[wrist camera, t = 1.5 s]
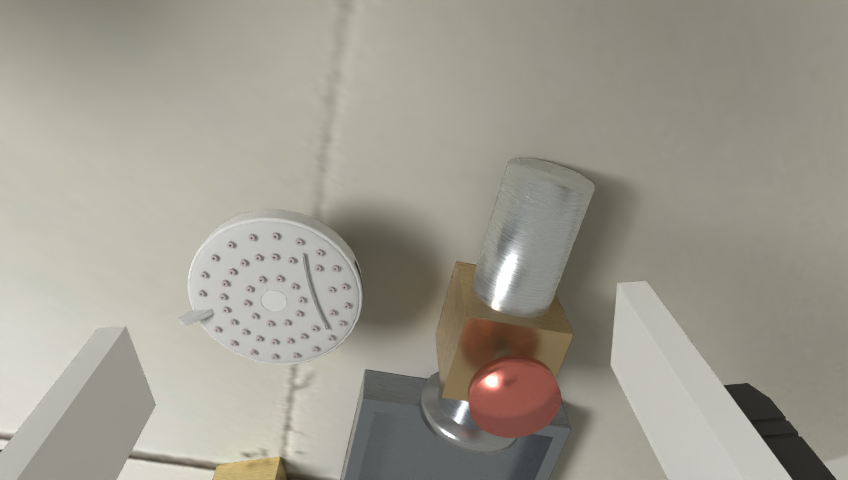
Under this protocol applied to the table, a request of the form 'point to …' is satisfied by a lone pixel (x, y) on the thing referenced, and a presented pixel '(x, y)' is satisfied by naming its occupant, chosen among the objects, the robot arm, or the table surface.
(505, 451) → the metal assembly
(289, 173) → the table surface
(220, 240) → the showerhead
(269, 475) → the brass block
